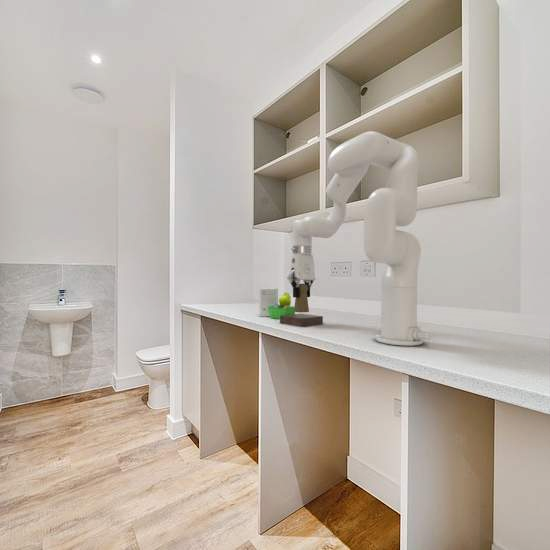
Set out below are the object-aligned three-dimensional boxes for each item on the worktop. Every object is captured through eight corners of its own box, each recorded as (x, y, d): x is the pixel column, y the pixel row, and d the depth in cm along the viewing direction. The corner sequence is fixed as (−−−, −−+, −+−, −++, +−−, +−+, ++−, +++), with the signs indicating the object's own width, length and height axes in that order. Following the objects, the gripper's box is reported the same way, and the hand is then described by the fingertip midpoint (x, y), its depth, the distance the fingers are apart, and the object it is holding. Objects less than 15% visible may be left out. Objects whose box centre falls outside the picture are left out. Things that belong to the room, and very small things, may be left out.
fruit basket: (266, 318, 139) (266, 292, 139) (279, 316, 145) (279, 292, 146) (286, 320, 131) (286, 293, 131) (299, 318, 138) (299, 293, 138)
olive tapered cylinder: (303, 312, 119) (304, 283, 119) (290, 311, 123) (291, 283, 123) (311, 311, 124) (312, 283, 124) (299, 310, 127) (299, 283, 128)
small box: (275, 314, 151) (276, 288, 151) (277, 316, 145) (278, 288, 145) (259, 315, 150) (259, 287, 150) (260, 316, 143) (260, 288, 144)
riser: (322, 323, 123) (322, 316, 123) (301, 326, 115) (301, 318, 115) (300, 320, 132) (300, 313, 132) (279, 323, 124) (279, 315, 124)
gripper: (293, 249, 115) (293, 298, 115) (323, 252, 126) (322, 297, 126) (279, 250, 120) (279, 297, 120) (309, 253, 132) (309, 296, 132)
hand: (301, 296), depth 123 cm, fingers closed on olive tapered cylinder, 5 cm apart
